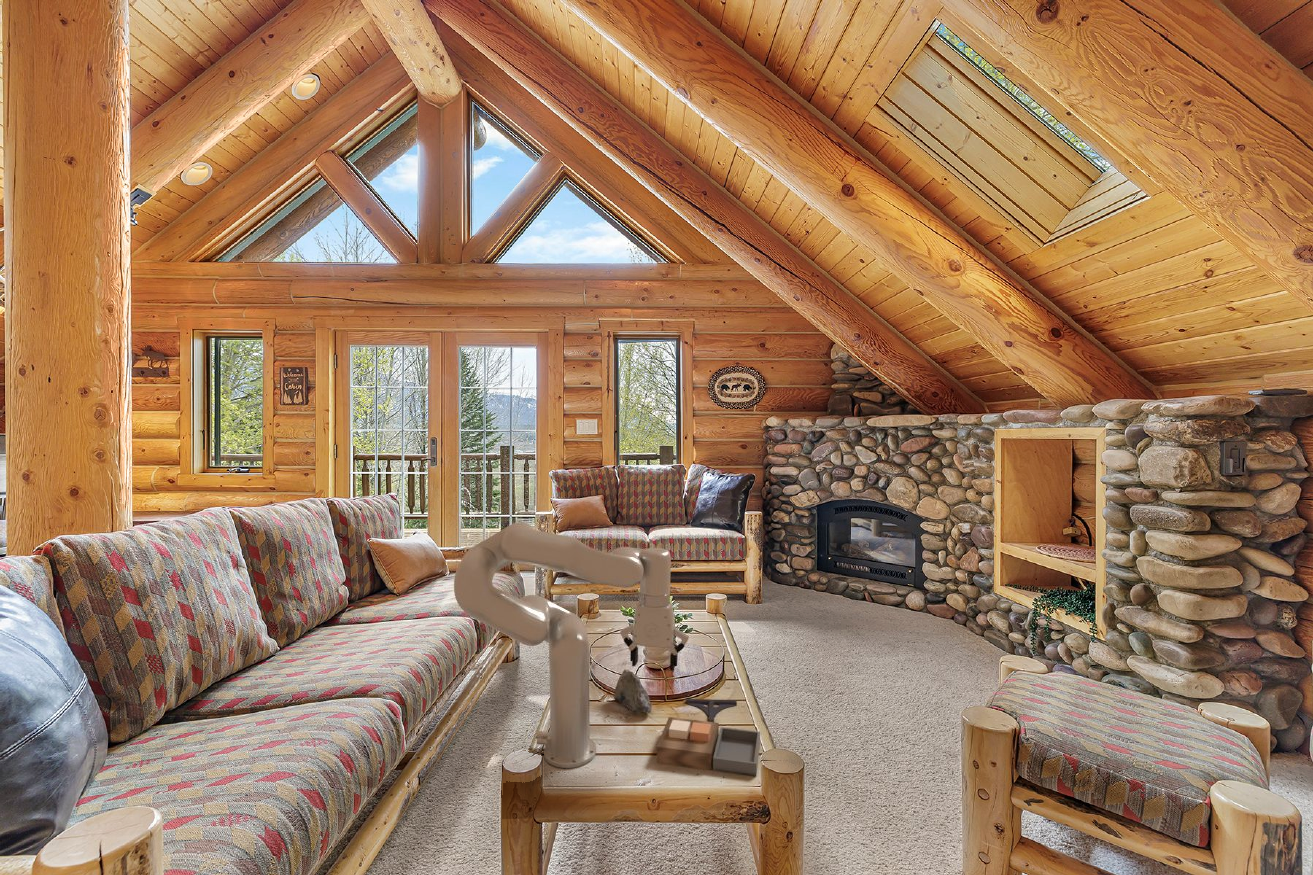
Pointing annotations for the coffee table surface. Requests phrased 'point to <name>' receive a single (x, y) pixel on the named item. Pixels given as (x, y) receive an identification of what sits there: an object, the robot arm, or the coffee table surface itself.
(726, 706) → the bracket
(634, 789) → the coffee table surface
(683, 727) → the cream tile
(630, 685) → the mineral rock
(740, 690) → the coffee table surface
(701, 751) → the tan square panel
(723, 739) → the box
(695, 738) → the terracotta tile
